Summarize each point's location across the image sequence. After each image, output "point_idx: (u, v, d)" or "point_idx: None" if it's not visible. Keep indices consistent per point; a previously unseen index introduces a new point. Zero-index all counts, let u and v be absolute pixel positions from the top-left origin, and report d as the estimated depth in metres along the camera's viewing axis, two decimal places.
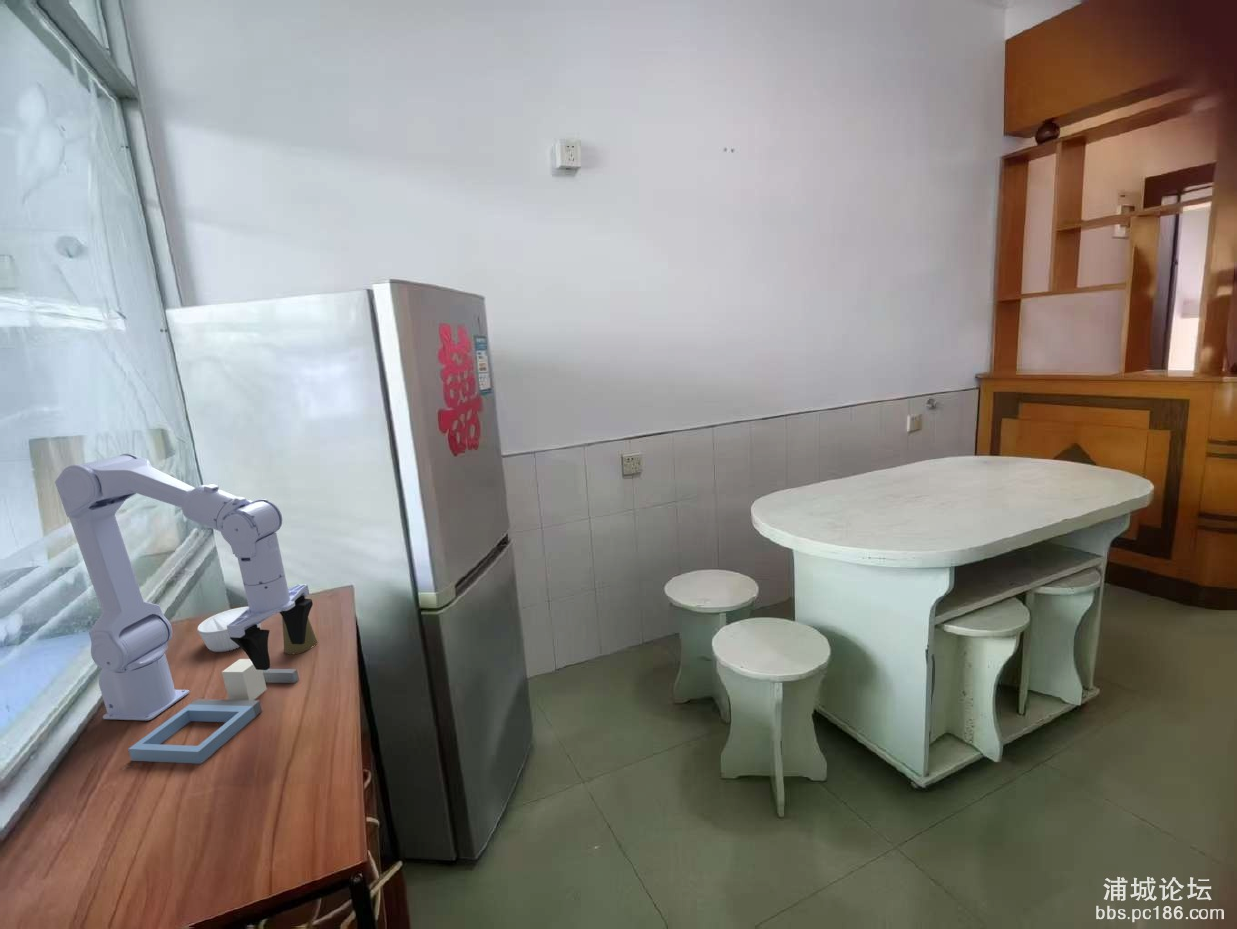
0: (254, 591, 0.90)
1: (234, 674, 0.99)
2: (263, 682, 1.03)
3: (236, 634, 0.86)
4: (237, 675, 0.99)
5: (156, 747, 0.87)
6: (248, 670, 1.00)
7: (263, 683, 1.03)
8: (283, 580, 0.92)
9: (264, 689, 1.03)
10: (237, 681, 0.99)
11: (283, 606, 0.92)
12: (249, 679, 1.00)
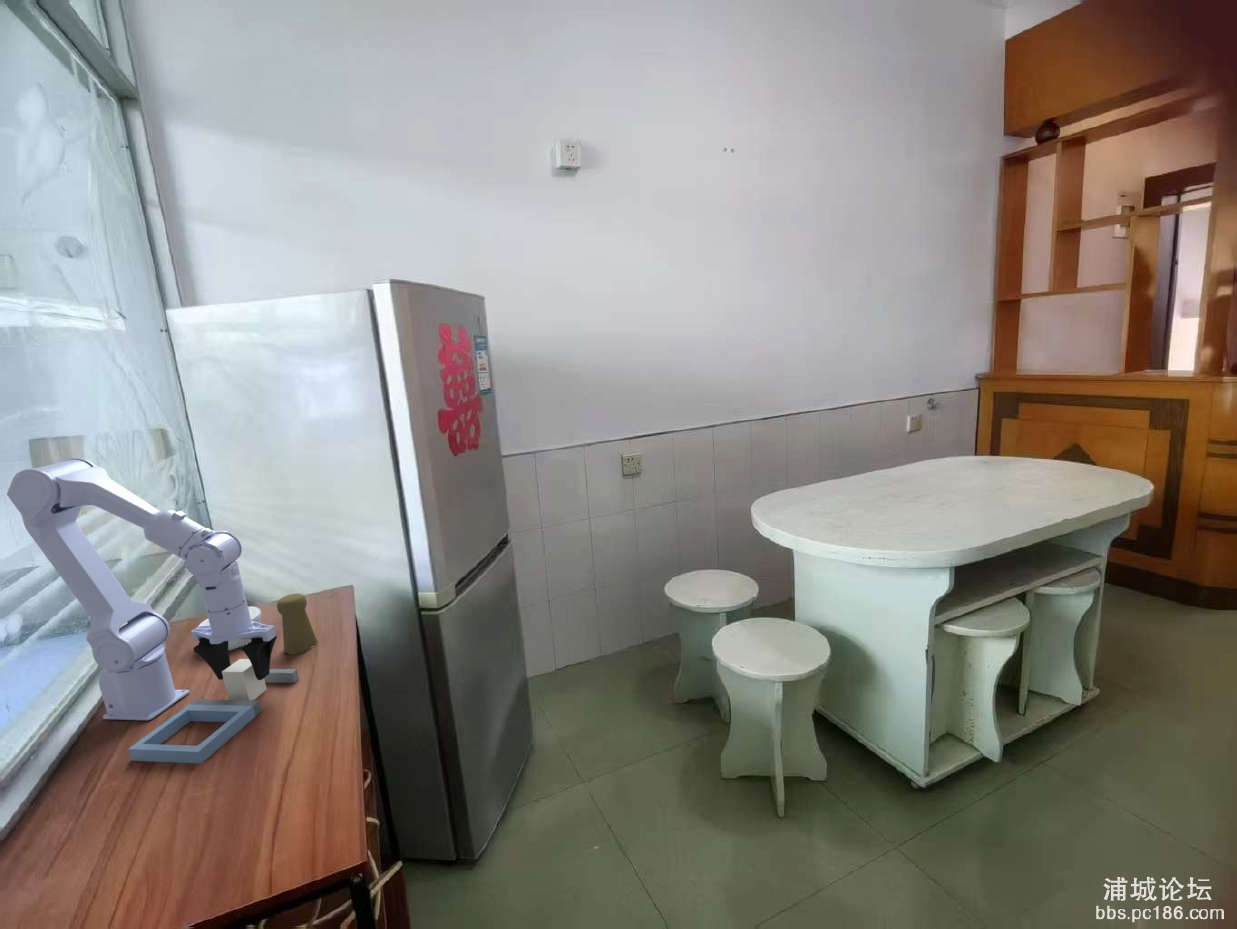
0: None
1: (234, 674, 0.99)
2: (263, 682, 1.03)
3: None
4: (237, 675, 0.99)
5: (156, 747, 0.87)
6: (248, 670, 1.00)
7: (263, 683, 1.03)
8: (218, 616, 0.96)
9: (264, 689, 1.03)
10: (237, 681, 0.99)
11: (213, 638, 0.96)
12: (249, 679, 1.00)
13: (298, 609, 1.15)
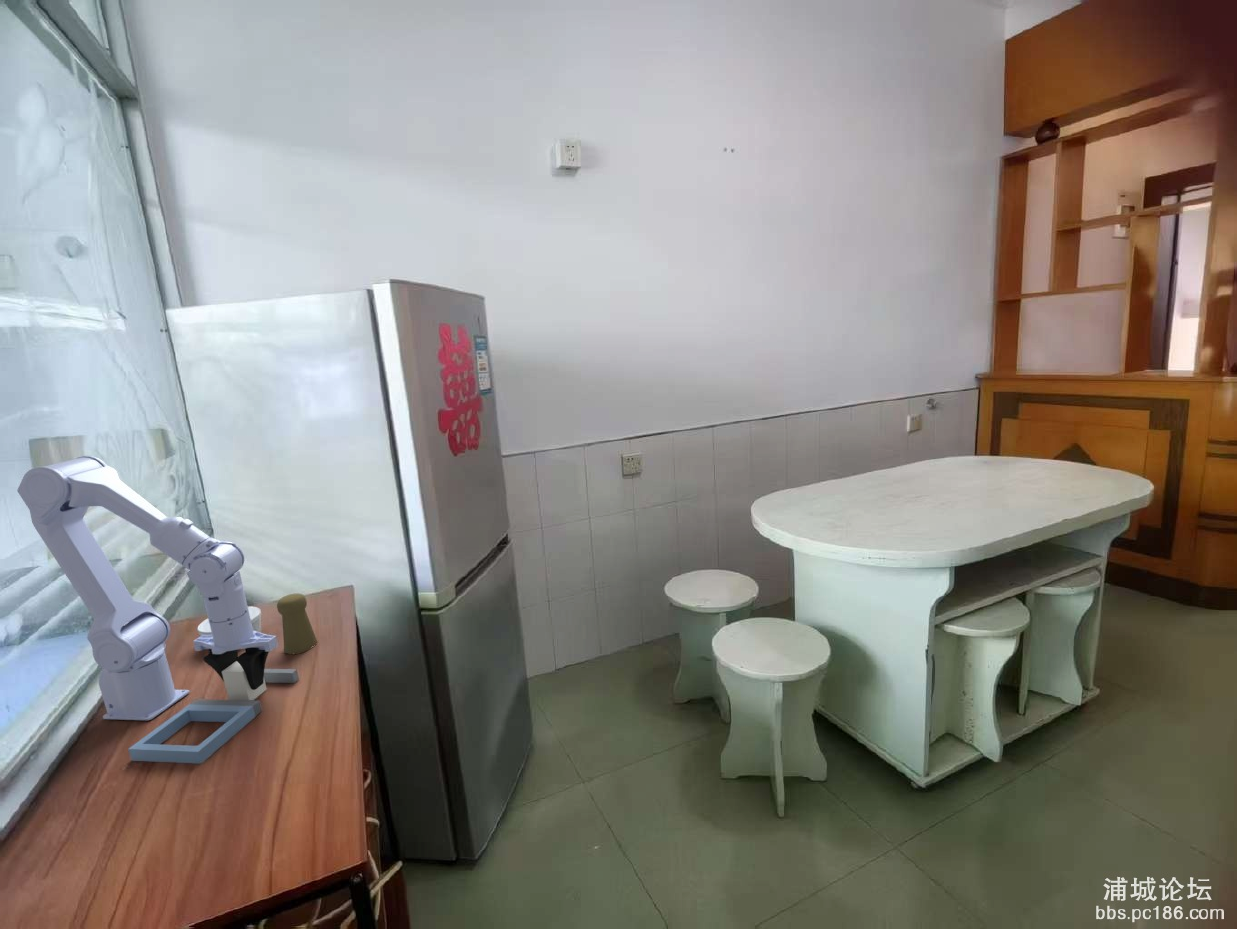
0: None
1: (234, 674, 0.99)
2: (263, 682, 1.03)
3: None
4: (237, 675, 0.99)
5: (156, 747, 0.87)
6: None
7: (263, 683, 1.03)
8: (220, 626, 0.96)
9: (264, 689, 1.03)
10: (237, 681, 0.99)
11: (215, 648, 0.97)
12: None
13: (298, 609, 1.15)
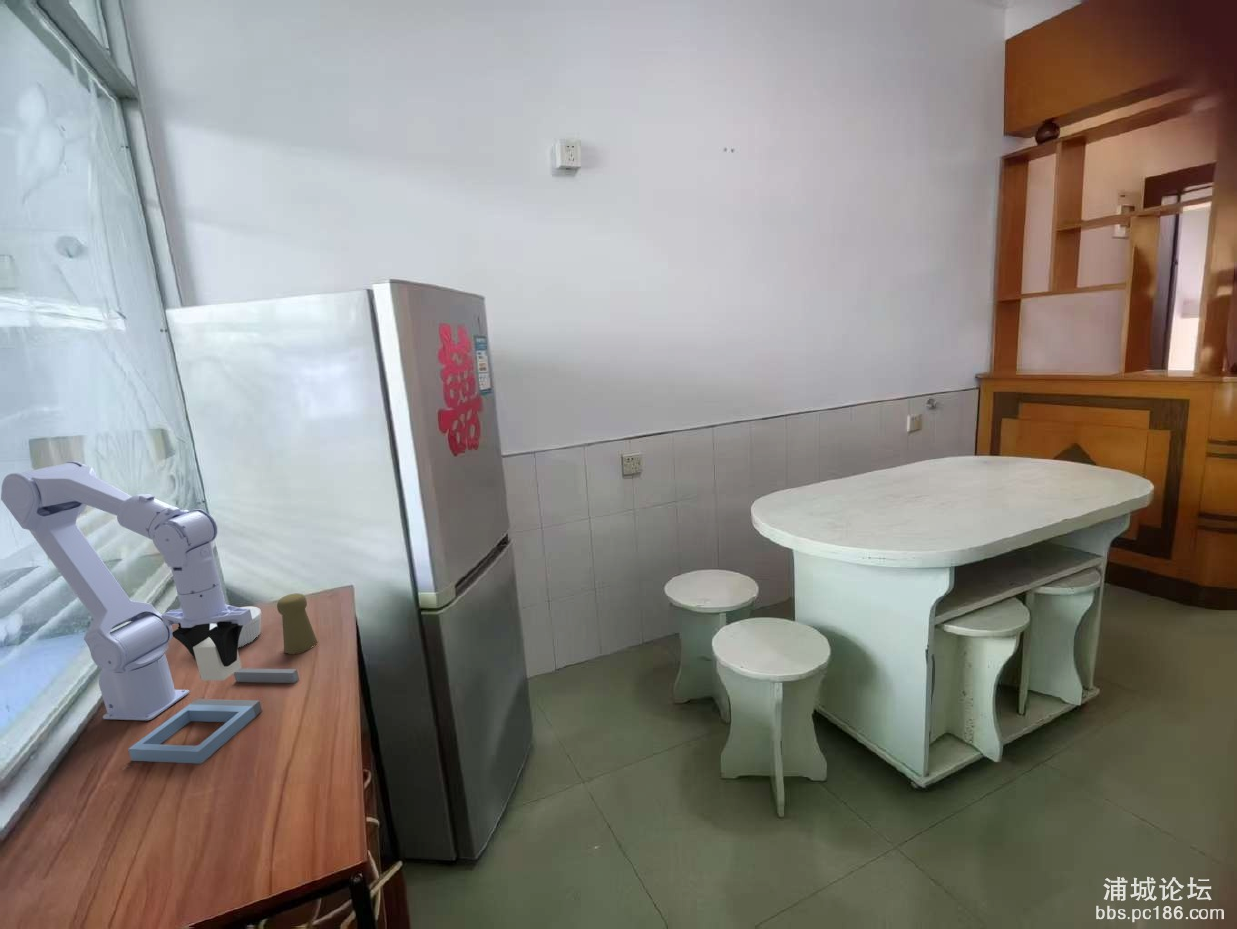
0: None
1: (206, 650, 0.94)
2: (238, 659, 0.98)
3: None
4: (209, 651, 0.94)
5: (156, 747, 0.87)
6: None
7: (238, 660, 0.98)
8: (190, 598, 0.91)
9: (239, 666, 0.98)
10: (209, 657, 0.94)
11: (184, 621, 0.91)
12: None
13: (298, 609, 1.15)
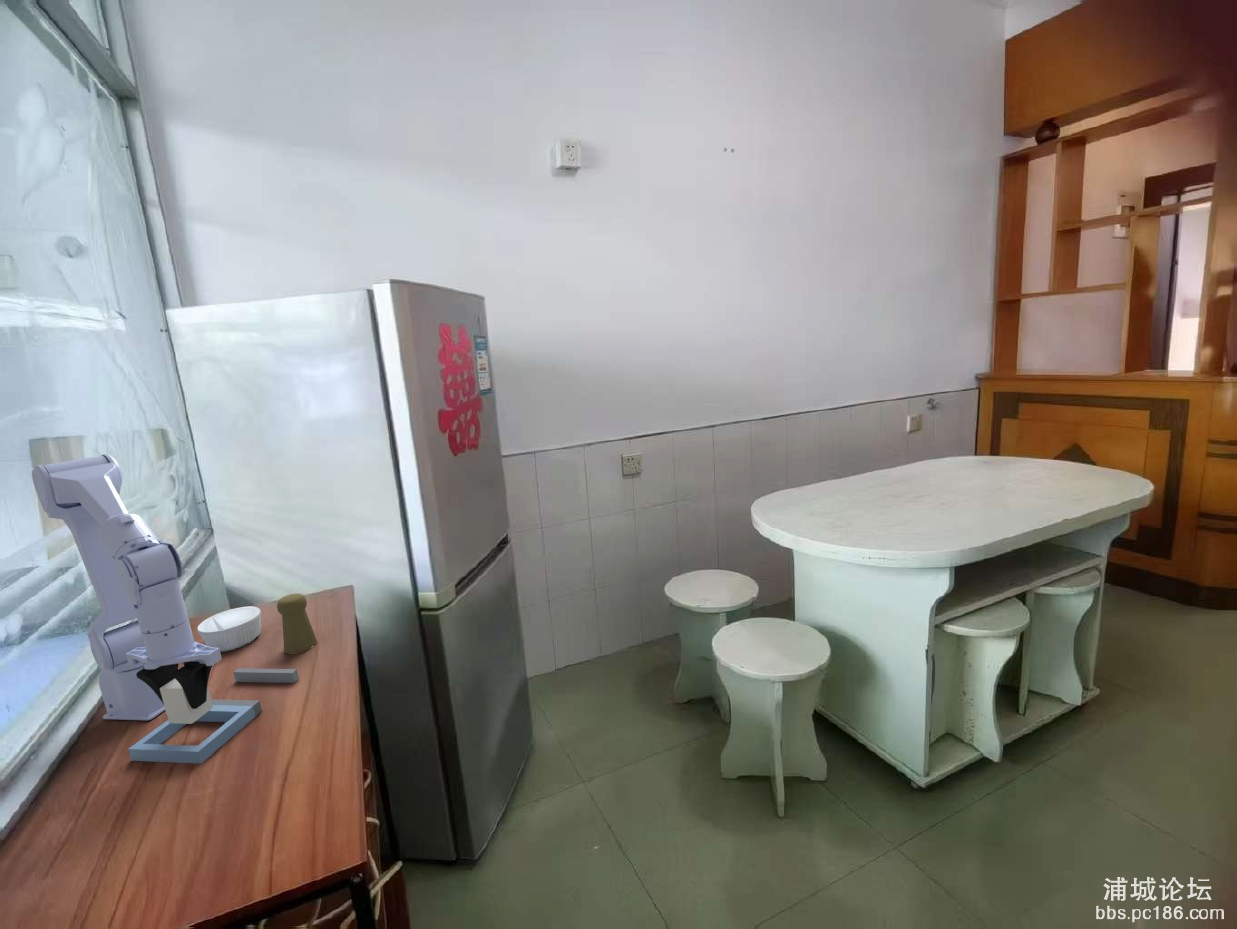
0: None
1: (174, 691, 0.88)
2: (209, 699, 0.92)
3: None
4: (177, 693, 0.88)
5: (156, 747, 0.87)
6: None
7: (209, 700, 0.92)
8: (153, 637, 0.85)
9: (210, 707, 0.92)
10: (177, 699, 0.88)
11: (148, 662, 0.85)
12: None
13: (298, 609, 1.15)
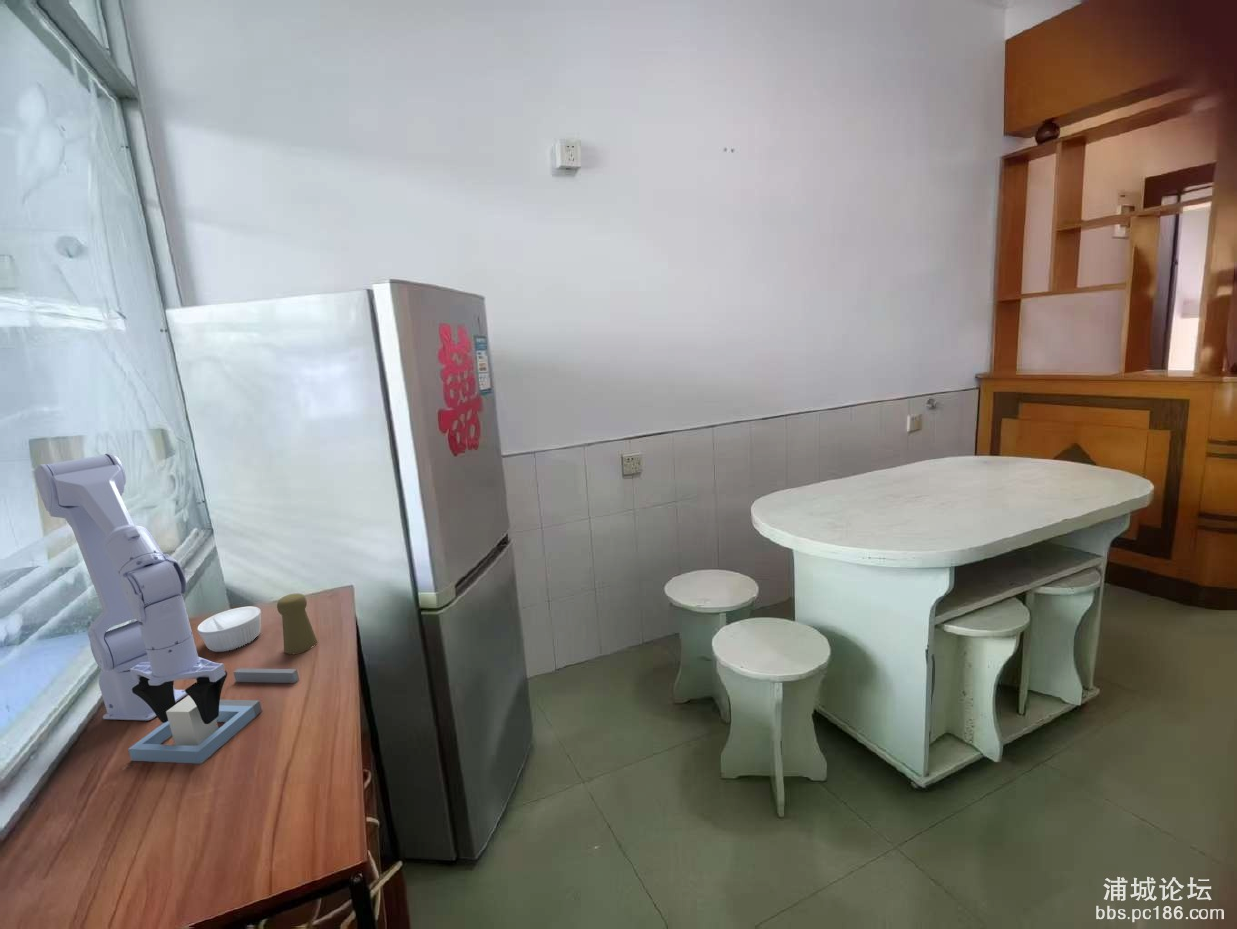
0: None
1: (180, 714, 0.89)
2: (214, 721, 0.93)
3: None
4: (183, 716, 0.89)
5: (156, 747, 0.87)
6: (195, 709, 0.90)
7: (214, 722, 0.93)
8: (158, 654, 0.85)
9: (215, 729, 0.93)
10: (184, 722, 0.89)
11: (152, 678, 0.86)
12: (196, 720, 0.90)
13: (298, 609, 1.15)
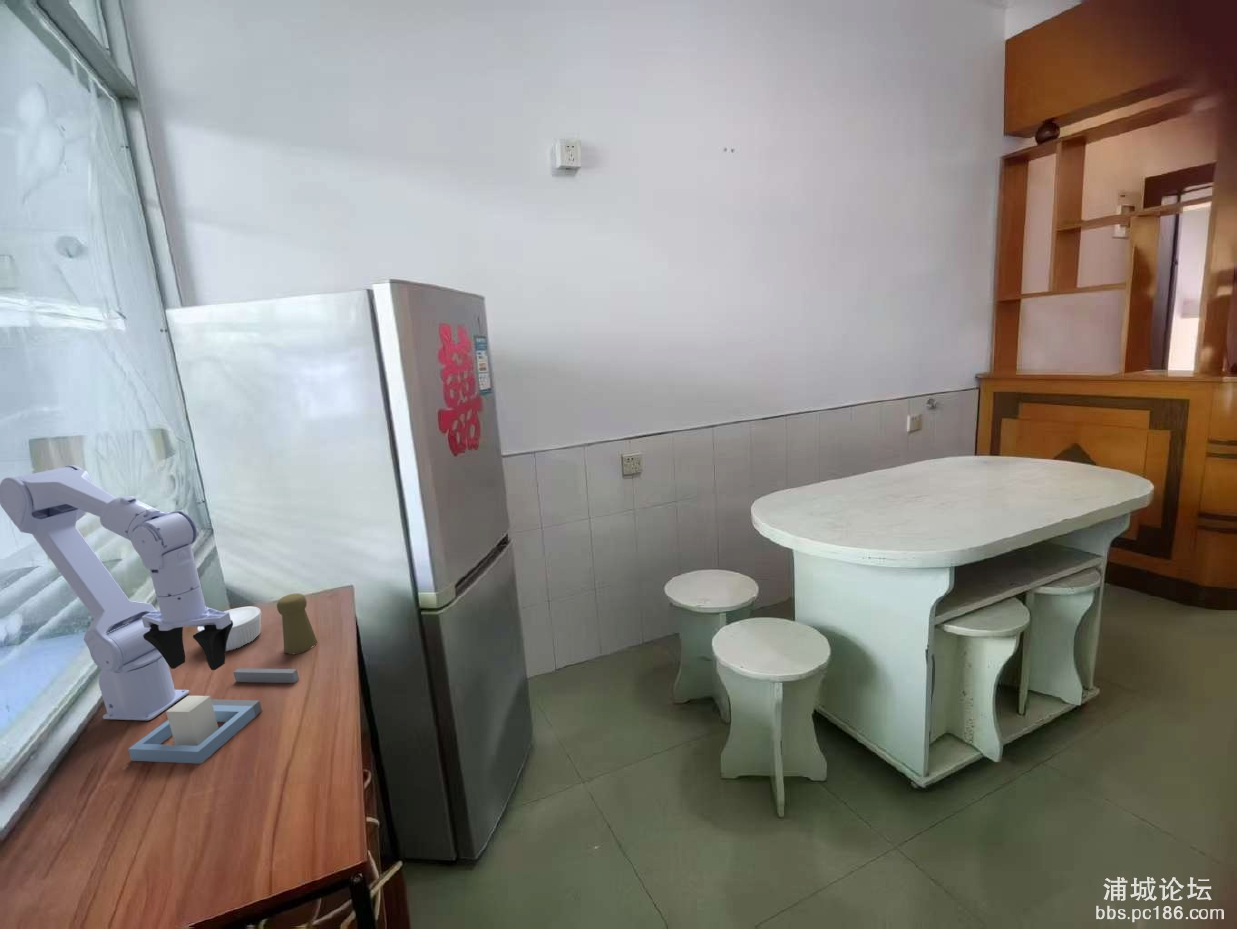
0: None
1: (180, 714, 0.89)
2: (214, 721, 0.93)
3: None
4: (183, 716, 0.89)
5: (156, 747, 0.87)
6: (195, 709, 0.90)
7: (214, 722, 0.93)
8: (168, 601, 0.90)
9: (215, 729, 0.93)
10: (184, 722, 0.89)
11: (162, 624, 0.90)
12: (197, 720, 0.90)
13: (298, 609, 1.15)
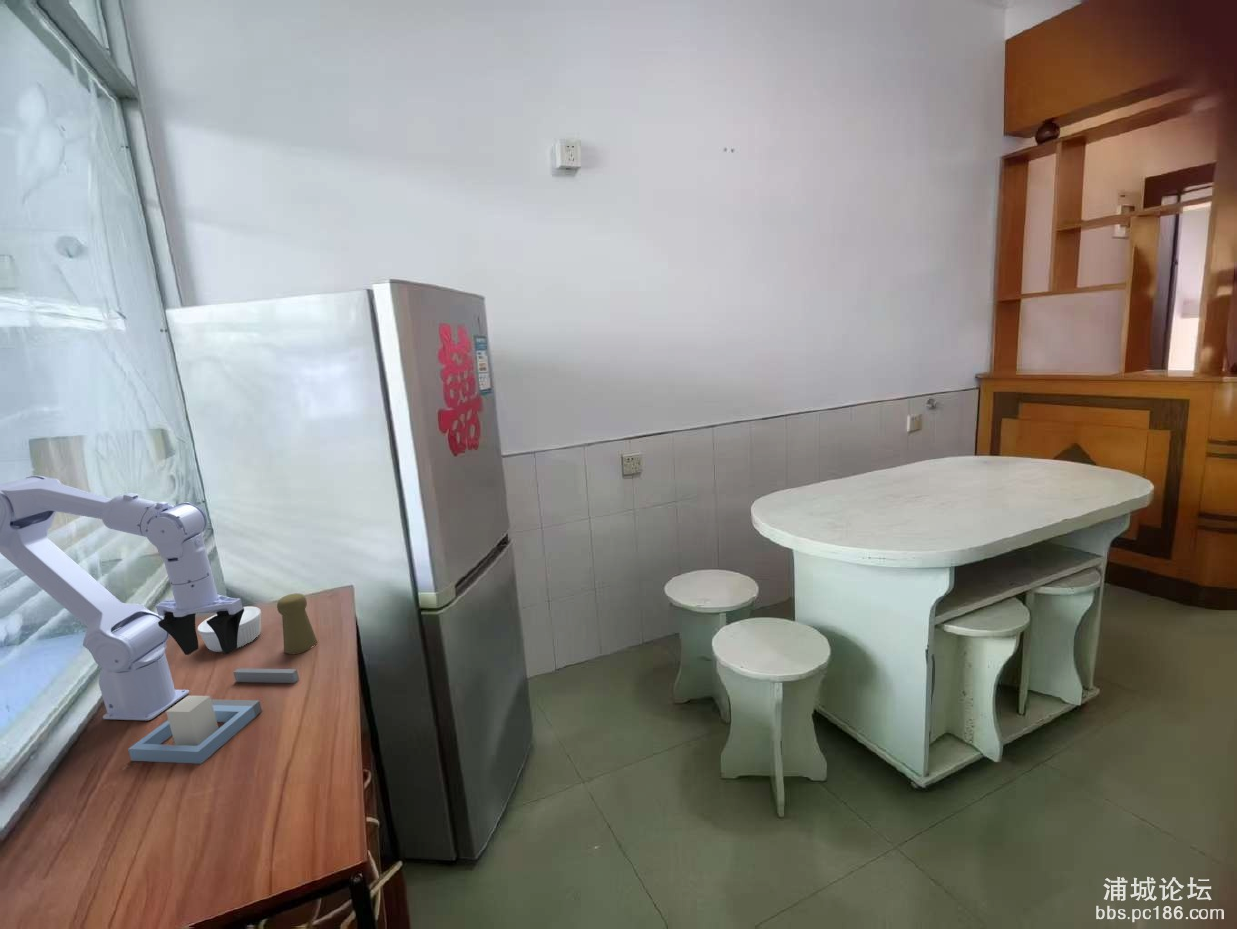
0: None
1: (180, 714, 0.89)
2: (214, 721, 0.93)
3: None
4: (183, 716, 0.89)
5: (156, 747, 0.87)
6: (195, 709, 0.90)
7: (214, 722, 0.93)
8: (182, 588, 0.94)
9: (215, 729, 0.93)
10: (183, 722, 0.89)
11: (177, 611, 0.94)
12: (196, 720, 0.90)
13: (298, 609, 1.15)
